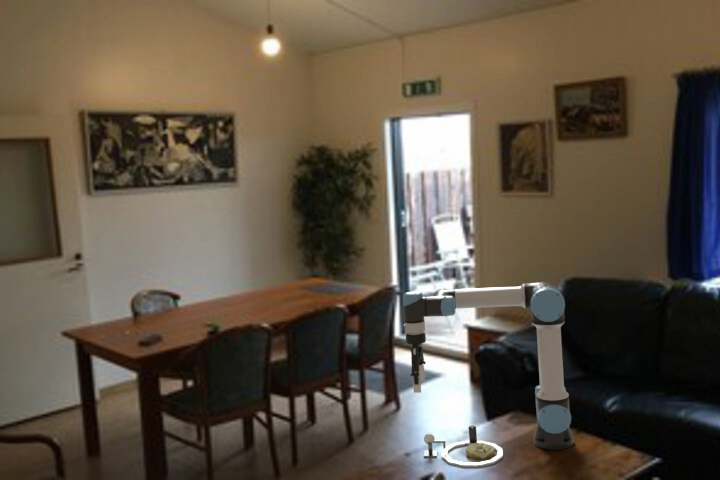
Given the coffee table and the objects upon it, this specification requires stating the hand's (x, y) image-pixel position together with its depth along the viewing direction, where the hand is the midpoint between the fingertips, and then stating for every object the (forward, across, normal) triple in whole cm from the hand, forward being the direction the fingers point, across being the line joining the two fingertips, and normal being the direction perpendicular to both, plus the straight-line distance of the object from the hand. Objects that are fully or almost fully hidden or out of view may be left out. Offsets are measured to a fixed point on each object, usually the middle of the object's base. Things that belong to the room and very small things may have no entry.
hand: (419, 386), depth 281 cm
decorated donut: (+28, -1, +21) cm, 36 cm away
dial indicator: (+28, -1, +4) cm, 28 cm away
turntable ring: (+28, -1, +18) cm, 33 cm away
